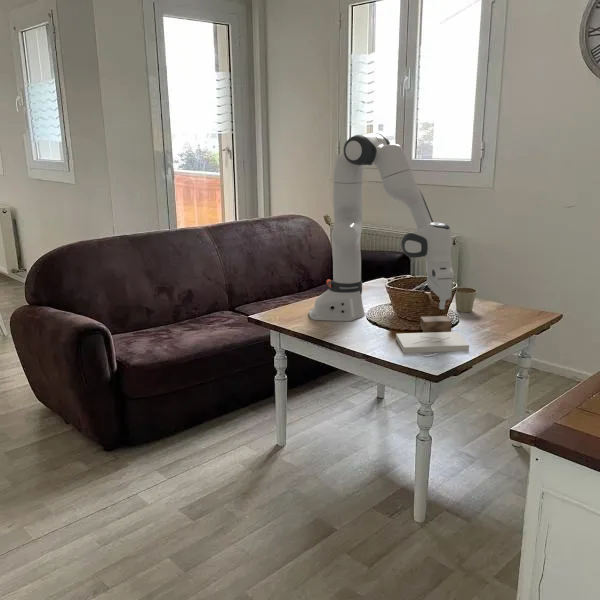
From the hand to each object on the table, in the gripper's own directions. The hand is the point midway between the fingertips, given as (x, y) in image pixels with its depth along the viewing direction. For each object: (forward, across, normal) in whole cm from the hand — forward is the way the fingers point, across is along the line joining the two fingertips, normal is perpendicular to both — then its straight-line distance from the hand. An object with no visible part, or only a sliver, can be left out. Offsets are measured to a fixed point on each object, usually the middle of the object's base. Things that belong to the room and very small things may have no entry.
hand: (438, 305), depth 223 cm
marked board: (+10, +14, -6) cm, 18 cm away
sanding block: (+10, 0, -1) cm, 10 cm away
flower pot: (+11, -24, +17) cm, 32 cm away
